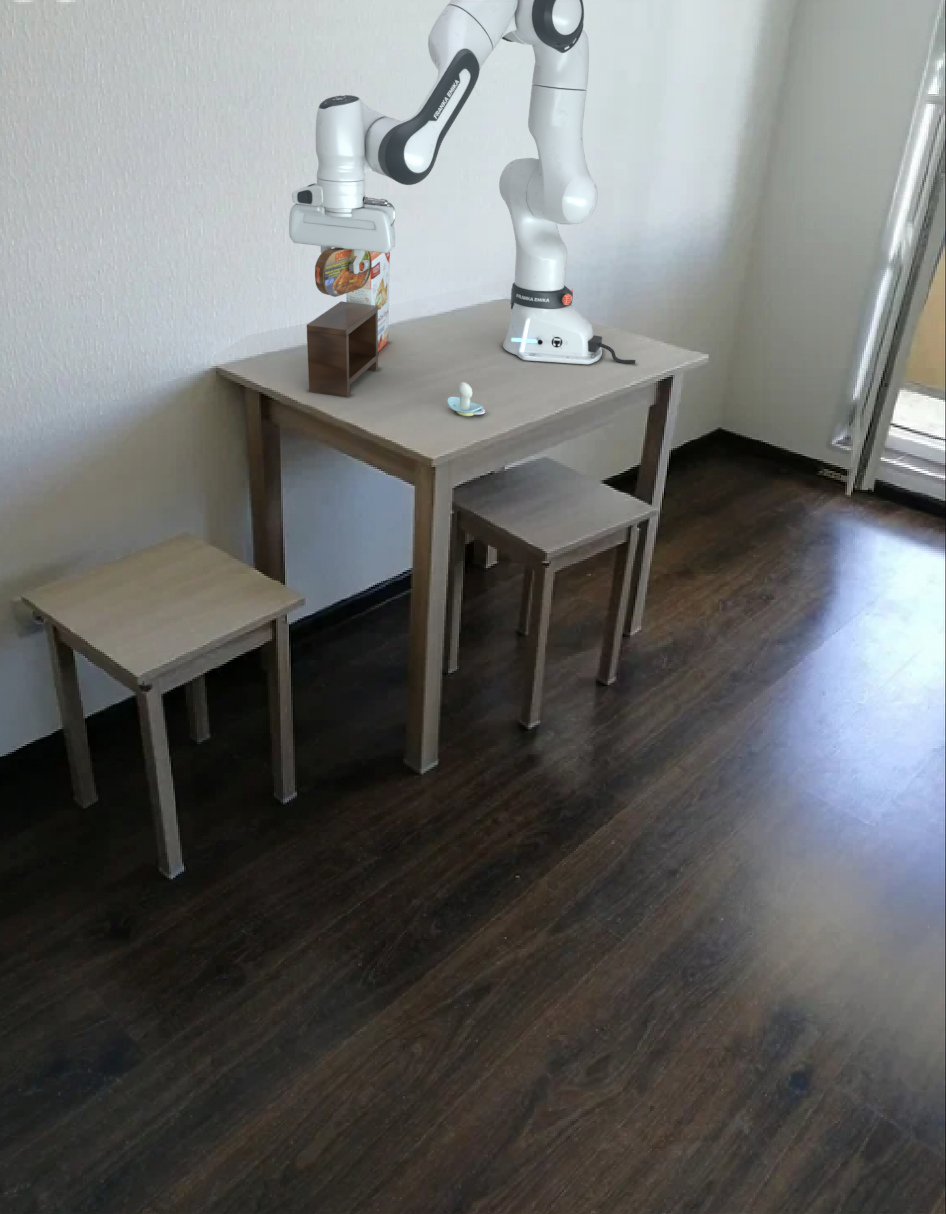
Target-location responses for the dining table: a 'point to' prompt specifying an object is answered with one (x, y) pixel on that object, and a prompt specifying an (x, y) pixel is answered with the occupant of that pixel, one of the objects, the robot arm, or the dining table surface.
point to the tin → (340, 272)
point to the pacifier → (465, 402)
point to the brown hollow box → (342, 347)
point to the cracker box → (376, 293)
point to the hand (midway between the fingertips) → (343, 271)
